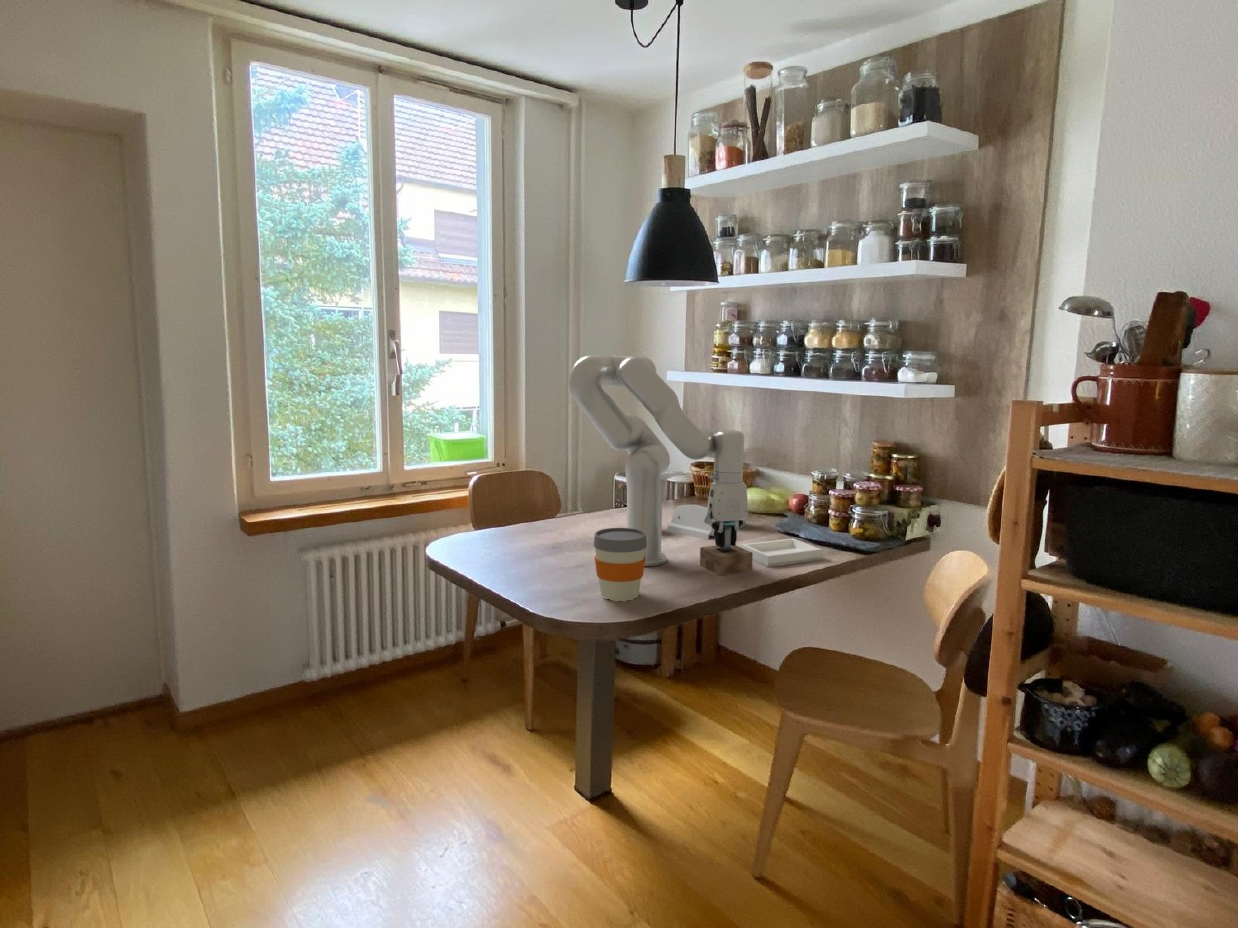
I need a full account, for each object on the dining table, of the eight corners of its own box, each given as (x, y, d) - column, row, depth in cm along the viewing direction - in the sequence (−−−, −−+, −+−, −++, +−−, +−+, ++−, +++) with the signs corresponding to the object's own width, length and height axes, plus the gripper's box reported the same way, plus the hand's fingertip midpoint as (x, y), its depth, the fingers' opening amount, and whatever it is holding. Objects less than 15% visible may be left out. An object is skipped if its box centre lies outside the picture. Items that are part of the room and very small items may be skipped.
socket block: (719, 575, 193) (719, 556, 193) (699, 565, 202) (700, 547, 202) (751, 571, 197) (752, 552, 197) (731, 561, 206) (731, 543, 206)
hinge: (665, 530, 240) (672, 500, 241) (674, 532, 244) (681, 502, 245) (708, 539, 229) (715, 507, 230) (716, 541, 233) (723, 510, 234)
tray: (767, 566, 201) (767, 556, 201) (740, 554, 213) (741, 544, 212) (821, 559, 208) (821, 549, 208) (792, 548, 220) (793, 538, 220)
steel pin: (721, 570, 197) (723, 523, 195) (712, 565, 201) (714, 519, 199) (736, 568, 199) (738, 521, 197) (727, 564, 203) (729, 518, 201)
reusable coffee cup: (617, 583, 186) (617, 524, 184) (656, 594, 178) (657, 533, 176) (582, 595, 177) (582, 534, 175) (622, 608, 169) (622, 543, 167)
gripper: (708, 481, 189) (706, 552, 192) (762, 478, 196) (759, 546, 199) (693, 477, 196) (691, 544, 199) (746, 473, 203) (743, 539, 206)
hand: (725, 544), depth 199 cm, fingers closed on steel pin, 3 cm apart
